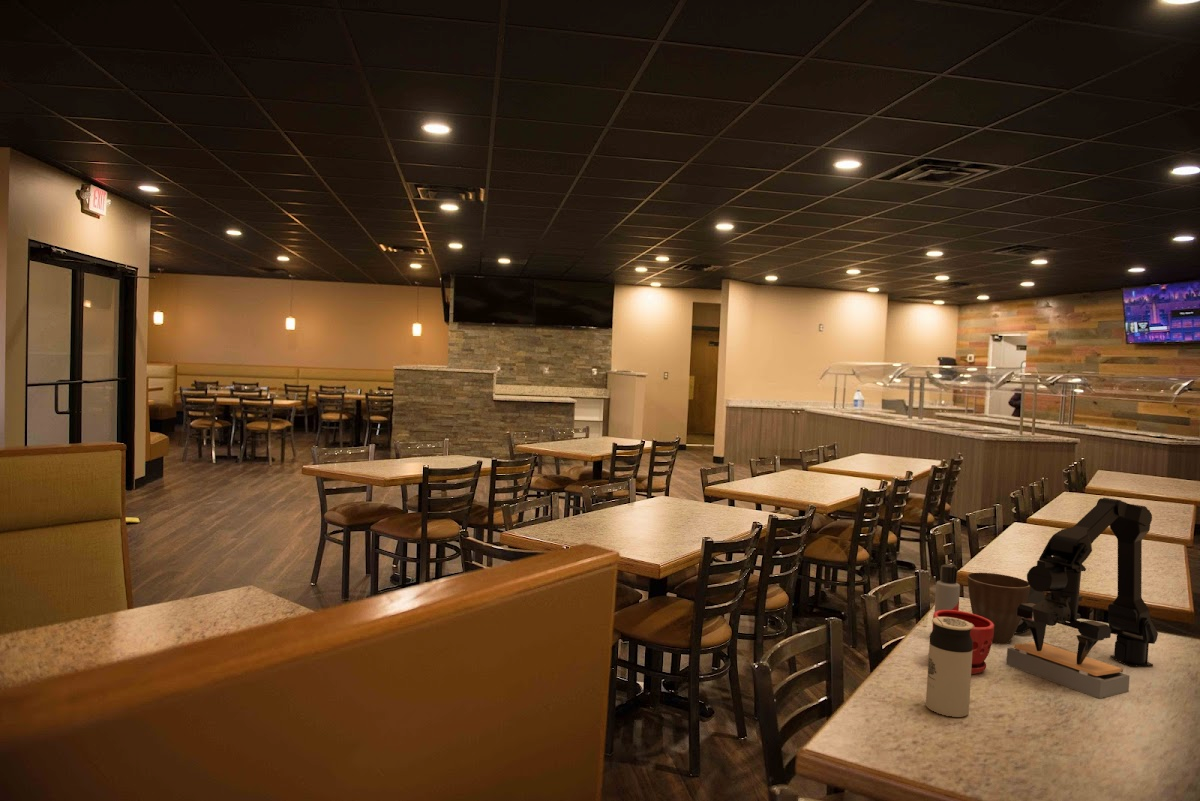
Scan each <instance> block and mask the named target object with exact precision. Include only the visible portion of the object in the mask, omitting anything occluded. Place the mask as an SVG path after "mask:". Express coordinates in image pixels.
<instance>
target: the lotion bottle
mask: <svg viewBox="0 0 1200 801" xmlns="http://www.w3.org/2000/svg"><path fill="white" fill-rule="evenodd" d="M957 576H958V567H957V566H956V564H952V563H944V564H942V565H941V566H940V580H937V581H936V584H935V597H934V598H935V599H934V600H935V601H934V612H933V614H934V613H935V612H936V611H939V610H956V611H960V610H959V608H960V594H961V593H960V592H961V585H960V583H958V582H957Z"/></svg>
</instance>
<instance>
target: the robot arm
mask: <svg viewBox="0 0 1200 801" xmlns="http://www.w3.org/2000/svg"><path fill="white" fill-rule="evenodd" d="M1152 514H1153V513H1152V512H1151V511H1150V510H1149V509H1148V507H1147V506H1146V505H1145V506H1144V505H1139V504H1132V503H1128V502H1126V501H1123V500H1122V499H1116V498H1110V497H1101V498H1099V499H1098V500H1097V502H1096V504H1095V505H1094V507H1092V509H1090V510H1089V511H1088V512H1087V513H1086V514H1085V515H1084V516H1083V517H1082V518H1081V519H1080V520H1078V521H1077V523H1076V524H1074V525H1073V526H1070V527H1066V528H1064V529H1063V528H1062V529H1061V530H1059V531H1056V532H1055V533H1054V534H1052V536H1051V537H1050V539H1049V540H1048V542H1047V543H1046V546H1045V547H1044V549H1043V551H1042V553H1041V554H1040V556H1039V559H1038V560H1037V561H1036V565H1034V566H1032V567H1031V568H1029V570H1028V572H1027V573H1026V581H1027V582H1028V583H1029V585H1030V586H1031V588H1033V589H1034V590H1036V591H1039V592H1043V593H1045V592H1046V593H1045V600H1044V601H1041V602H1039V603H1037V604H1033V603H1025V604H1020V605H1019V606H1018V607H1017V611H1016V615H1017V616H1020V617H1023V618H1021V619H1022V621H1025V622H1026V623H1027V624H1028V626H1029V627H1030V629H1029V630H1030V632H1031V635H1032V638H1033V642H1035V646H1036V649H1037V651H1041V650H1042V646H1043V642H1045V635H1046V629H1047V626H1048V627H1049V626H1050V627H1053V626H1057V624H1059V625H1062V626H1067V627H1070V628H1073V629H1076V630H1077V631H1078V633H1079V634H1077V635H1076V634H1075V635H1076V638H1077V641H1078V645H1077V652H1076V653H1077V664H1078V665H1079V664H1082V662H1083V661H1084V659H1085V658H1086V656H1088V655H1089V653H1090V652H1091V650H1092V649H1093V647H1095V645H1096V644H1097V643H1098V642H1099V641H1104V639H1111V634H1112V635H1116V639H1115V640H1116V641H1114V654H1113V655H1112V654H1111V655H1110V656H1109V658H1111V659H1113V660H1115V661H1117V662H1119V663H1122V664H1124V665H1127V666H1129V667H1153V666H1154V664H1153V663H1151V662H1148V661H1149V660H1148V658H1149V646H1150V645H1149V644H1151V645H1154V644H1156V642H1157V640H1158V636H1159V633H1158V631H1157V629H1156V627H1155V626H1154V623H1153V622H1152V620H1151V614H1150V609H1149V607H1148V606H1147V604H1146V603H1145V601H1144V600H1143V597H1142V576H1143V575H1142V560H1143V559H1142V556H1143V555H1142V547H1143V546H1142V544H1143V543H1142V542H1143V539H1144V538H1145V537H1146V536H1147V534H1148V533H1149V532H1150V530H1151V523H1152V521H1153V515H1152ZM1108 528H1109V529H1110V530H1111V532H1112V533H1113V535H1114V536H1115V537H1116V539H1117V595H1116V596H1117V597H1116V598H1115V599H1114V600H1113V601H1112V603H1109V604H1108V606H1107V610H1108V614H1107V622H1108V624H1107V623H1103V622H1100V621H1096V620H1093V619H1092V620H1083V621H1081V614H1080V613H1078V610H1079V602H1082V600H1083V596H1082V595H1080V589H1081V580H1082V579H1081V577H1082V572H1086V571H1087V568H1086V567H1085V565H1083V563H1084V562H1085V561H1086V560H1087V559H1088V558H1089V556H1090V555H1091V554H1092V552H1093V546H1092V545H1093V543H1094V541H1096V539H1098V537H1099V536H1100V535H1102V533H1103V532H1105V530H1106V529H1108Z"/></svg>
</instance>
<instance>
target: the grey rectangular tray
mask: <svg viewBox="0 0 1200 801" xmlns="http://www.w3.org/2000/svg"><path fill="white" fill-rule="evenodd" d="M1005 664H1006V666H1008V667H1011V668H1014V669H1018V670H1020V671H1023V672H1026V673H1029V674H1030V675H1033V676H1036V677H1039V678H1042V679H1043V680H1047V681H1050V682H1053V683H1054V684H1058V685H1061V686H1064V687H1067V688H1069V689H1072V690H1075V691H1077V692H1080V693H1082V694H1085V695H1088V694H1089V695H1088V696H1090V695H1091V696H1090V697H1093V696H1094V697H1093V698H1096V697H1097V699H1099V698H1101V699H1104V698H1103V697H1105V698H1107V696H1109V697H1112V695H1113V696H1115V695H1116V694H1117V695H1120V694H1124V693H1128V692H1129V691H1130V678H1131V676H1130V675H1128V674H1125V673H1123V672H1118V673H1113V674H1107V675H1101V676H1094V675H1091V674H1088V672H1085V671H1082V670H1077V669H1074V668H1071V667H1068V666H1065V665H1062V664H1059V663H1056V662H1054V661H1051V660H1048V659H1045V658H1042V657H1039V656H1036V655H1033V654H1030V653H1027V651H1024V650H1021V649H1020V650H1019V649H1016V648H1014V647H1007V648H1006V663H1005Z"/></svg>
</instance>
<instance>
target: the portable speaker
mask: <svg viewBox="0 0 1200 801" xmlns="http://www.w3.org/2000/svg"><path fill="white" fill-rule="evenodd" d="M1045 596H1046V593H1045V592H1039V591H1036V590H1034V589H1033V588H1031V586H1030V590H1029V594H1028V599H1027V603H1033V604H1037V603H1039V602H1041V601H1044V600H1045ZM1022 618H1023V617H1022ZM1029 630H1031V629H1030V627H1029V626H1028V624H1027V623H1026V622H1025V621H1022V619H1021V620H1020V623H1019V625H1018V627H1017V630H1016V632H1015V634H1021V633H1025V632H1027V631H1029Z"/></svg>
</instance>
